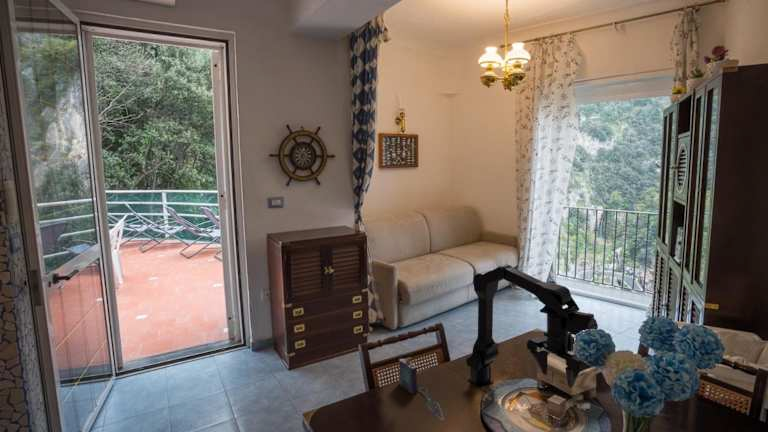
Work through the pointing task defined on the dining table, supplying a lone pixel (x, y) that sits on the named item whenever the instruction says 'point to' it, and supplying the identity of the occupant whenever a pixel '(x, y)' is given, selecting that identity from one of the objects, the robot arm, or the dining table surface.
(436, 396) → the dining table surface
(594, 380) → the wooden crate
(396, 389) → the dining table surface
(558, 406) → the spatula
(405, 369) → the flask
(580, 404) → the steel token
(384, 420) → the dining table surface
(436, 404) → the throwing knife
